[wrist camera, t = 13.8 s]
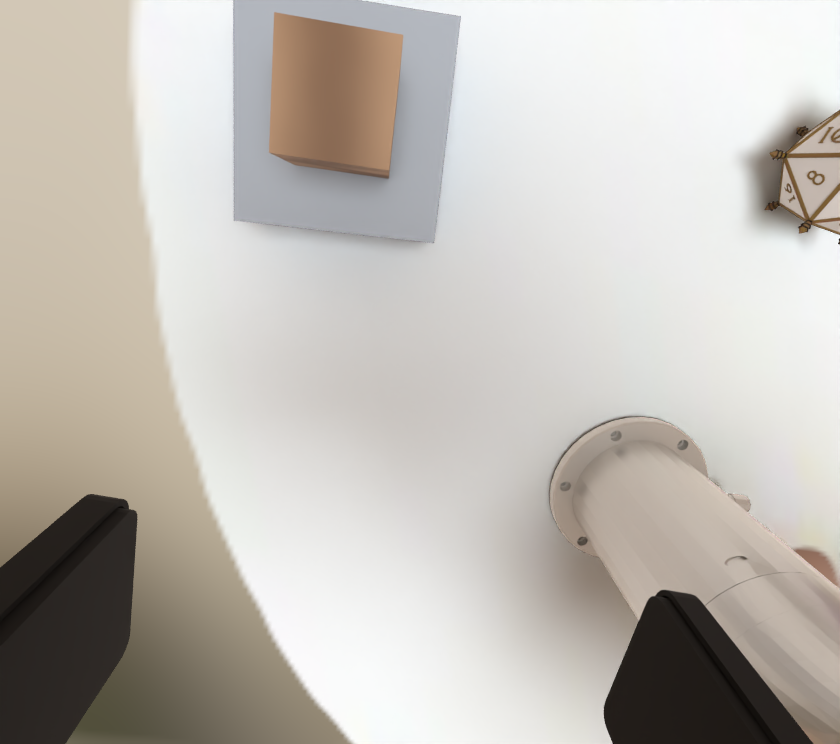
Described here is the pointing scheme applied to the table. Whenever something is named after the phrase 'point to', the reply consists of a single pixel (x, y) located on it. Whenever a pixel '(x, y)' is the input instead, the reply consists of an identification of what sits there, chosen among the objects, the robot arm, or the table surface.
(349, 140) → the copper block
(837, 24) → the table surface
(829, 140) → the game die
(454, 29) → the slate base
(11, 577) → the robot arm
